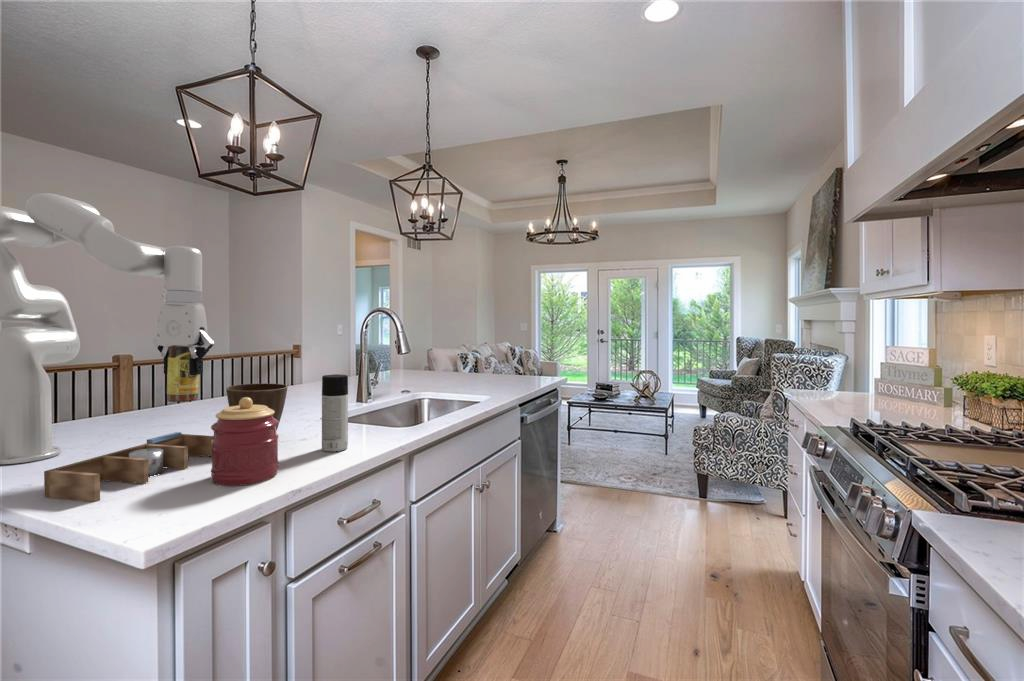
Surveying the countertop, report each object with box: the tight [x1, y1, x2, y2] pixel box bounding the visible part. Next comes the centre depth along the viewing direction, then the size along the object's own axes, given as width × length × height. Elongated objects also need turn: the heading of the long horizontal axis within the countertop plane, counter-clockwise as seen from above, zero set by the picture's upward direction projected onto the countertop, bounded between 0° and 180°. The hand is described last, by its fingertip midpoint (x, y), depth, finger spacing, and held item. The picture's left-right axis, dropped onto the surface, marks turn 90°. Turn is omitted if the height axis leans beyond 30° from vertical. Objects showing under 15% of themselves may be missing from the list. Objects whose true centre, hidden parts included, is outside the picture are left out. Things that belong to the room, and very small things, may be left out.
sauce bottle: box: [166, 344, 200, 403], centre depth 113 cm, size 6×6×20 cm
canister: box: [210, 397, 280, 487], centre depth 104 cm, size 13×13×18 cm
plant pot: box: [225, 382, 288, 432], centre depth 131 cm, size 15×15×16 cm
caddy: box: [43, 431, 214, 503], centre depth 105 cm, size 11×31×6 cm, turn 171°
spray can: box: [321, 374, 349, 453], centre depth 127 cm, size 7×7×20 cm
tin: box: [129, 448, 164, 478], centre depth 104 cm, size 6×6×5 cm
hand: (183, 373), depth 114 cm, fingers closed on sauce bottle, 6 cm apart
